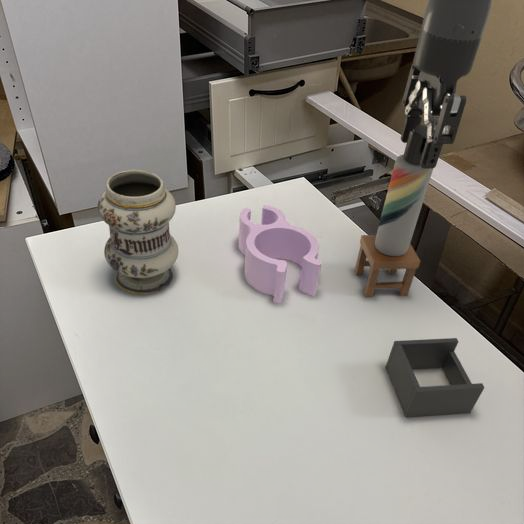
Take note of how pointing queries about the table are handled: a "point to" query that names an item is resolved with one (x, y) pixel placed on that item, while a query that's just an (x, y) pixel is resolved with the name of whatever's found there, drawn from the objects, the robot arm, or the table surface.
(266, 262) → the clip
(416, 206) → the lotion bottle
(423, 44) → the robot arm
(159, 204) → the apothecary jar
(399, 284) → the stool
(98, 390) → the table surface
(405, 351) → the dark grey open box
